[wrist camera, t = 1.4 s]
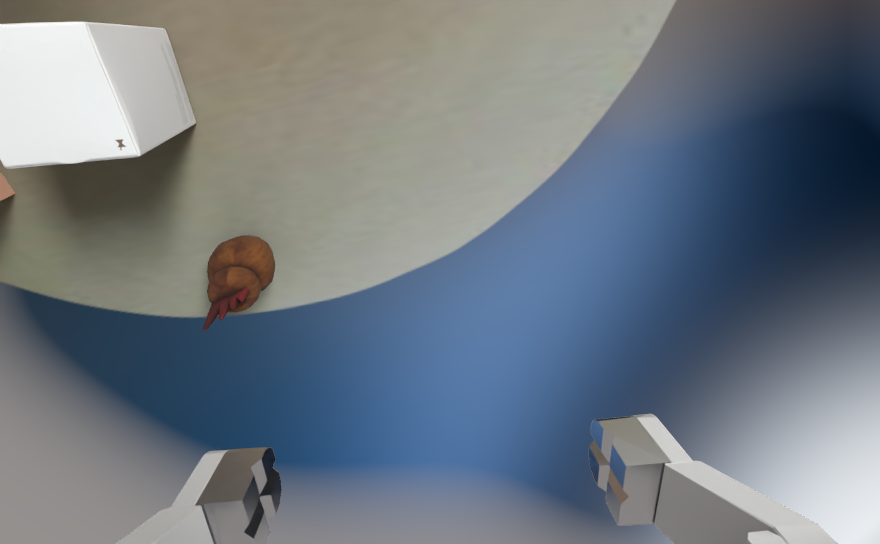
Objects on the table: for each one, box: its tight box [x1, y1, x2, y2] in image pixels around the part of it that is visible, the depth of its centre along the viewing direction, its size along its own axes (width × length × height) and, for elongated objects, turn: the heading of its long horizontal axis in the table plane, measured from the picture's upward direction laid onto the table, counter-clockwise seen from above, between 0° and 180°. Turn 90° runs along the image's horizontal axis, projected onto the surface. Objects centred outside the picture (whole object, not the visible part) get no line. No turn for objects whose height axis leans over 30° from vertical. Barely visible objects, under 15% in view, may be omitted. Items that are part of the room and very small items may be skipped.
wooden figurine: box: [203, 236, 275, 330], centre depth 45 cm, size 7×6×15 cm
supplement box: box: [0, 22, 196, 169], centre depth 34 cm, size 9×9×15 cm
